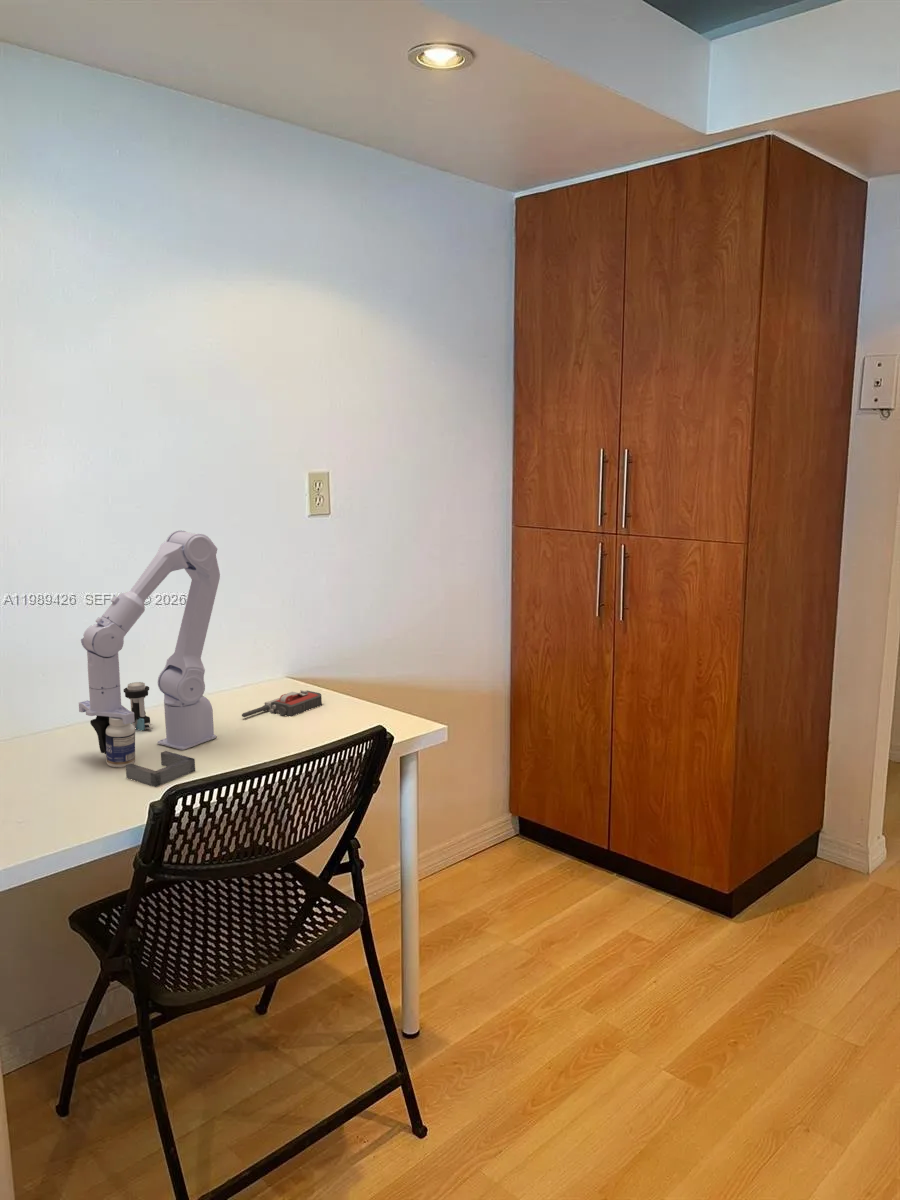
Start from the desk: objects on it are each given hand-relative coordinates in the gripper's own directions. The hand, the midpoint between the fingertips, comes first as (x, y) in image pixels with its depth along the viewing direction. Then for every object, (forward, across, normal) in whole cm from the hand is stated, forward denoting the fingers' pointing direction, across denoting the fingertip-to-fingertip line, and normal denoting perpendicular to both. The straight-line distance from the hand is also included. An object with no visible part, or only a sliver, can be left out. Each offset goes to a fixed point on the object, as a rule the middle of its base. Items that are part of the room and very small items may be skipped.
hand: (108, 752), depth 178 cm
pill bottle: (+2, +3, 0) cm, 4 cm away
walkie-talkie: (+2, +7, +43) cm, 43 cm away
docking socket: (+2, +14, 0) cm, 14 cm away
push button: (+2, -11, +16) cm, 20 cm away
